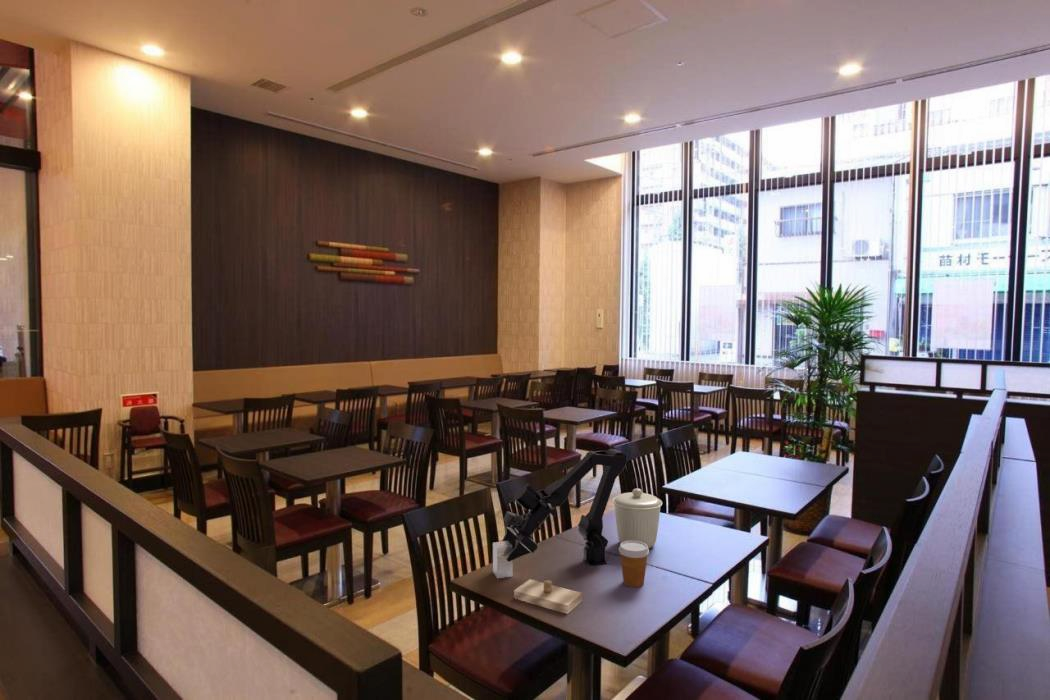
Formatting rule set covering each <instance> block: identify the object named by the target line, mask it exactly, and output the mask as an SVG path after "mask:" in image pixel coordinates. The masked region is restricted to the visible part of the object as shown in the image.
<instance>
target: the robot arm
mask: <svg viewBox="0 0 1050 700" xmlns="http://www.w3.org/2000/svg"><path fill="white" fill-rule="evenodd" d="M627 462H628V458H627V456H626V454H625V453H624V452H621V451H619V450H617V449H614V448H609V449H607V450H597V451H592V450H591V451H587V452H586V454H585V455H584V457H583V458H582V459H580V461H578V463H576V464H575V465H574V466H573V467H572V468H571V469H570V470H569V471H568V472H567V473H566V474H565V475H564V476H563V477H561V478H560V479H558V480H555V481H553V482H551V483H550V484H549V485H547V486H546V487H545V488H544V489H540V490H535V489H534V488H533V487H532V486H531V485H530V484H529V483H526V484H525V485H523V486H520V488H518V489H517V490H516V491H515V493H514V495H513V500H514V501H515V502H516V503H517V504H519V505H520V506H521V507H522V508H523V509H524V510H525V511H528V512H527V513H522V515H518V514H517V513H514V512H512V511H511V512H510V511H506V512H505V515H504V517H503V521H504V532H505V533H504V536H503V539H502V540H501V542H502V541H509V543H510V544H511V545H513V544H514V543H515V545H514V546H513V550H512V551H511V553H510V554H509V556H508V557H507V559H506V560H507V561H508V562H510V561H512V560H513V561H514V560H516V559H518V558H520V557H522V556H525V555H528V554H531V553H532V554H534V553H535V552H536V551H537V550H538V544H537V543H536V541H534V540H533V536H532V535H534V534H535V532H536V531H537V530H538V531H540V530H541V529H542V528H541V527H540V526H542V524H543V523H544V521H545V520H546V519H547V518H548V517H549V516H550V515H551V516H552V517H554V518H556V517H557V513H556V510H557V509H556V507H558V508H559V507H560V506H562V505H563V504H564V502H566V500H567V498H568V497H569V496H570V493H571V491H572V489H573V488H574V487H575V486H576V485H577V484H578V483H579V482H580V481H581V480H582V479H583V478H584V477H586V476H587V474H588V473H589V472H590V471H592V470H593V469H594V468H595V466H601V467H602V474H601V477H600V481H599V482H598V485H597V488H596V491H595V494H594V497H593V501H592V502H591V507H590V508H589V511H588V513H587V514H586V515H584V514H581V515H580V519H579V522H578V524H577V526H578V533H579V534H580V536H581V537H582V538H583V540H584V541H585V542H584V547H583V560H584V561H586V563H587V565H589V566H593V565H601V564H604V565H605V564H607V563H608V561H607V560H606V548H607V546H608V544H609V540H608V539H607V538H606V536H604V535H603V529H604V526H603V524H604V523H603V518H604V514H605V511H606V508H607V505H608V502H609V499H610V496H611V493H612V491H613V487H614V485H615V482H616V479H617V478H618V477H619V475H621V473H623V471H624V469H625V468H626V465H627ZM540 500H541V501H542V502H541V501H540Z"/></svg>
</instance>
